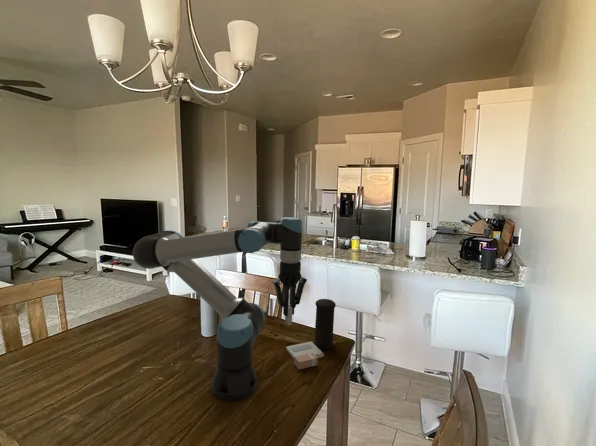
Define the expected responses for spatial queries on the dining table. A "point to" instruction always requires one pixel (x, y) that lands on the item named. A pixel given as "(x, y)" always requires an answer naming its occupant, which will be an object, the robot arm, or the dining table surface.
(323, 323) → the container
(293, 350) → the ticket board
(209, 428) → the dining table surface
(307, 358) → the pink banded block
